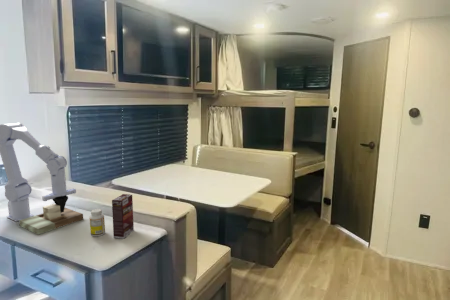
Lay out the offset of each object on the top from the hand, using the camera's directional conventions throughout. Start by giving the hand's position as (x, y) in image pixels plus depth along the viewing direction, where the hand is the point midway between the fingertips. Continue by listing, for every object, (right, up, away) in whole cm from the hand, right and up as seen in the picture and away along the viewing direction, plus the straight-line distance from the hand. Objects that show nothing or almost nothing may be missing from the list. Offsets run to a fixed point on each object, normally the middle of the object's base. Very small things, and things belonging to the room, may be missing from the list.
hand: (61, 211), depth 144 cm
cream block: (-2, -2, -3) cm, 4 cm away
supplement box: (+34, -6, -15) cm, 38 cm away
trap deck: (-3, -4, -3) cm, 6 cm away
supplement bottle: (+23, -6, -15) cm, 28 cm away
